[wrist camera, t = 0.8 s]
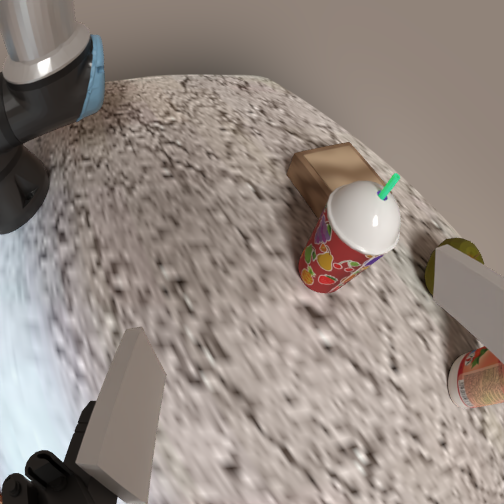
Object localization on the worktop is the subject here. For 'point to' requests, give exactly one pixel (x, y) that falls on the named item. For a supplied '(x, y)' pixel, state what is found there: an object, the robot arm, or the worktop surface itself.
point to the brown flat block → (328, 172)
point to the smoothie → (350, 234)
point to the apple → (458, 244)
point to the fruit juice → (476, 379)
